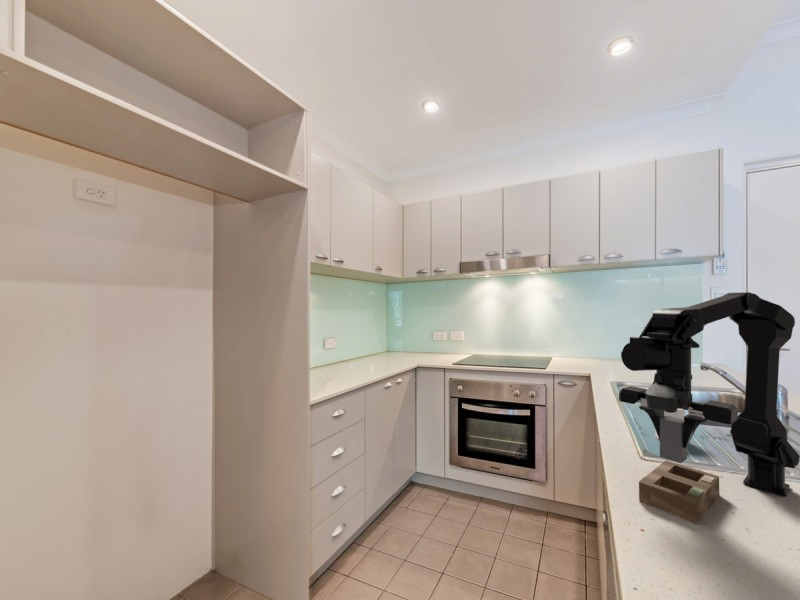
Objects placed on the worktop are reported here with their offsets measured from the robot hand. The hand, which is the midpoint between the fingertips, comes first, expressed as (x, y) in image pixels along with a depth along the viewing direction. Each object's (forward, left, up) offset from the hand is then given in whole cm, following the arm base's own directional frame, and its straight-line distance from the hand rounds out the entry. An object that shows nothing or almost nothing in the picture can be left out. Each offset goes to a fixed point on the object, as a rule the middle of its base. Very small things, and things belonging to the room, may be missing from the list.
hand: (673, 444), depth 72 cm
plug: (0, 0, -3) cm, 3 cm away
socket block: (-2, 0, -12) cm, 12 cm away
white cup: (-38, -12, -12) cm, 42 cm away
